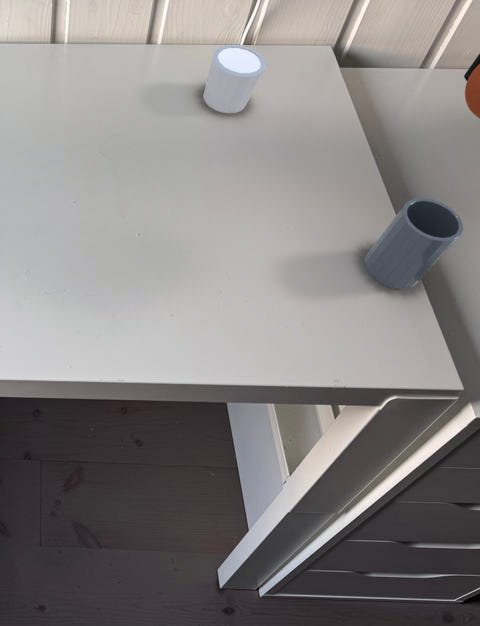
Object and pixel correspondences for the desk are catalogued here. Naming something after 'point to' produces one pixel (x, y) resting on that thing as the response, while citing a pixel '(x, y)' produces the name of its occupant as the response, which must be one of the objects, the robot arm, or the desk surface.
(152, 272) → the desk surface
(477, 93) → the ball
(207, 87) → the white cylinder
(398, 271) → the cup
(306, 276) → the desk surface
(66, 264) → the desk surface
